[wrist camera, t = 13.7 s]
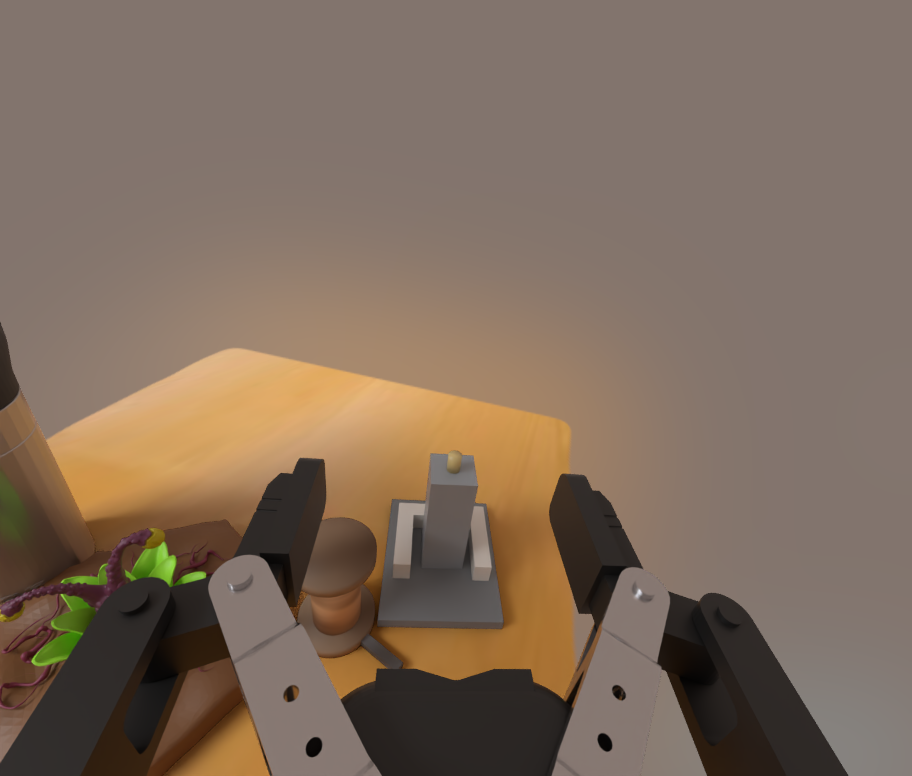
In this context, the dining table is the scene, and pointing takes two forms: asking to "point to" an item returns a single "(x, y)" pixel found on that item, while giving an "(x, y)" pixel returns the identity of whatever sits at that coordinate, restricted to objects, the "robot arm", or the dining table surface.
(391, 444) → the dining table surface
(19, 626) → the plant
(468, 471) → the gray block with knob
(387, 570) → the grey u-shaped stand base
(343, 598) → the bobbin
